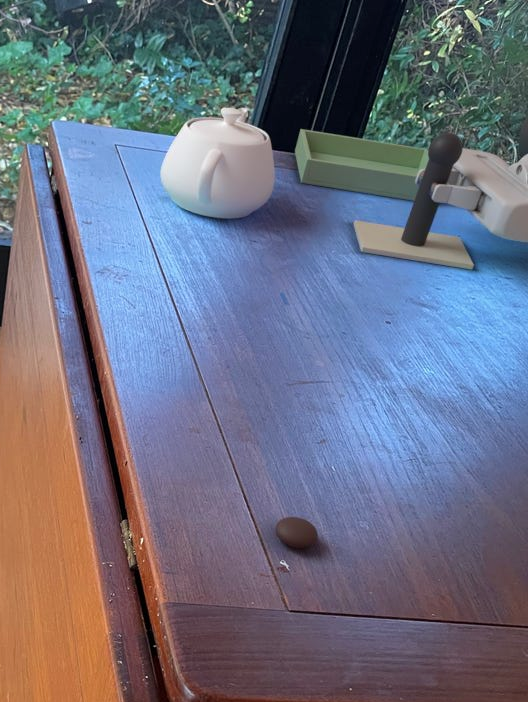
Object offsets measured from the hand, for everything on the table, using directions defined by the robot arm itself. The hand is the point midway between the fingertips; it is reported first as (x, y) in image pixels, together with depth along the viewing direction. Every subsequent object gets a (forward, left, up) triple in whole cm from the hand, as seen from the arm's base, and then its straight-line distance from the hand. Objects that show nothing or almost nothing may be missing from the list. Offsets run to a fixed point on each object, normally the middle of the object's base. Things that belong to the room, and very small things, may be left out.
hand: (425, 184), depth 114 cm
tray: (+2, -25, -7) cm, 26 cm away
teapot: (+23, -4, -7) cm, 25 cm away
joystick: (-1, 0, -7) cm, 7 cm away
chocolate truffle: (+17, +65, -7) cm, 67 cm away
